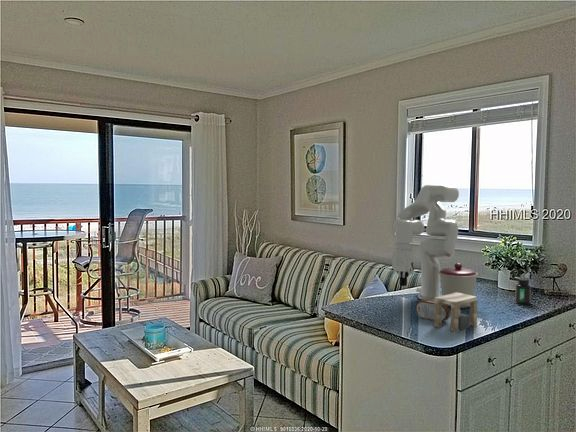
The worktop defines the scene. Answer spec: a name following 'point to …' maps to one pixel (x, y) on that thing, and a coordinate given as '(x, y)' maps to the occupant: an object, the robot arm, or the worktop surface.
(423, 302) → the tin
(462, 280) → the canister
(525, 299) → the supplement bottle
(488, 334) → the worktop surface
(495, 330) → the worktop surface
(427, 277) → the robot arm
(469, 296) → the small wooden stool
